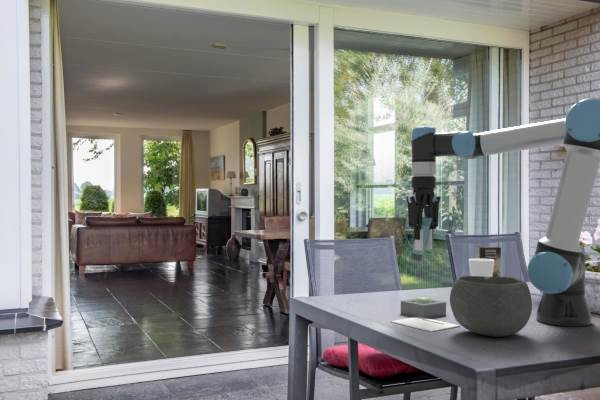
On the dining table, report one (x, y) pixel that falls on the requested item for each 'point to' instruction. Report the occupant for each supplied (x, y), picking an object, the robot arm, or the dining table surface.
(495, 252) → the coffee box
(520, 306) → the bowl
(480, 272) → the foam cup
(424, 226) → the marker
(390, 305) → the dining table surface
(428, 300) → the button
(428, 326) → the paper
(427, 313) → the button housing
